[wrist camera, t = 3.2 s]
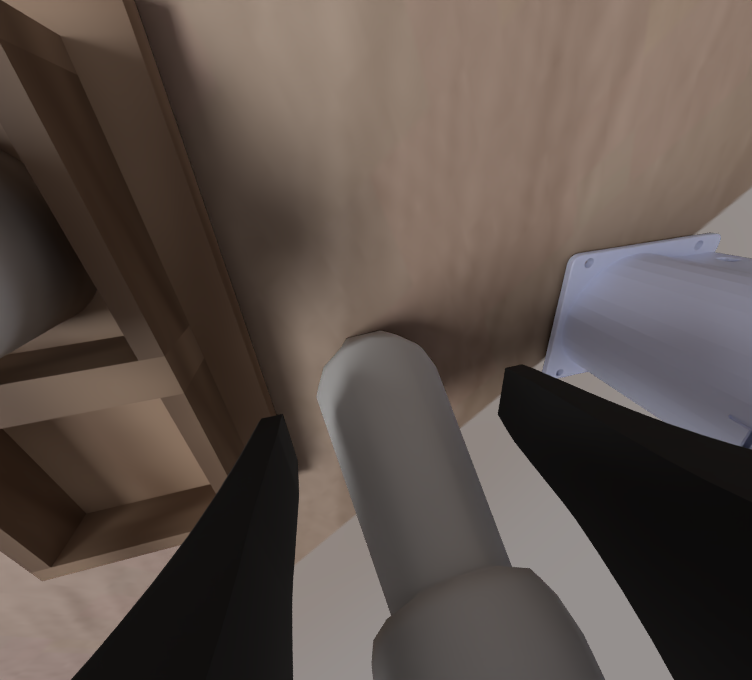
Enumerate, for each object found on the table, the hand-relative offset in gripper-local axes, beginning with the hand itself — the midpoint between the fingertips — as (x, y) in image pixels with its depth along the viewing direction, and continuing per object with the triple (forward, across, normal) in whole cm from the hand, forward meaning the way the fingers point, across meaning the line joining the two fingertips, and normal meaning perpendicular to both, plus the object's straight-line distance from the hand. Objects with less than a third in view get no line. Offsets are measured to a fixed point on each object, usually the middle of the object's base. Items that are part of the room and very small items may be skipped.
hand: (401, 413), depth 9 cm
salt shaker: (+7, 0, +2) cm, 7 cm away
